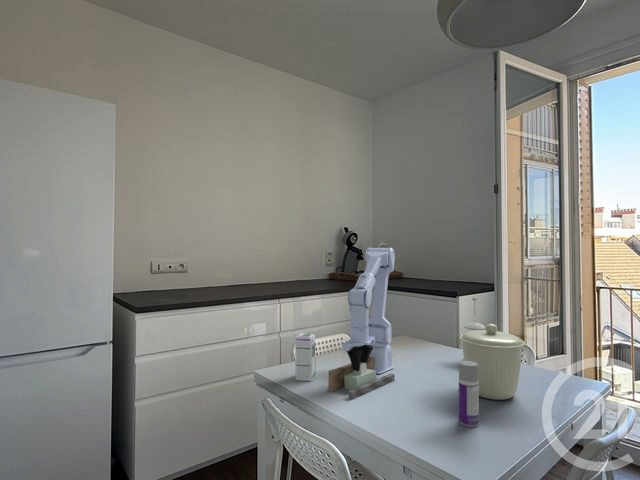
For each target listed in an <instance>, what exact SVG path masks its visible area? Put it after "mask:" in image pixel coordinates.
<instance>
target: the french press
mask: <svg viewBox="0 0 640 480" xmlns="http://www.w3.org/2000/svg"><path fill="white" fill-rule="evenodd" d="M471 300H472V301H474V302H473V303H474V304H473V305H474V307H473V309H474V316H476V301H478V298H477V297H475V296H474V297H472V299H471ZM485 326H486V325H484V324H482V323H480V322H476V321H473V322H466V323H465V324H464V325H463V328H465V329H467V330H471V331H474V330H485ZM461 361H464V358H462V359H461Z"/></svg>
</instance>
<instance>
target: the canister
mask: <svg viewBox="0 0 640 480" xmlns="http://www.w3.org/2000/svg"><path fill="white" fill-rule="evenodd" d="M484 326H485V329H483V330H469V331H466V332H464V333H463V334H461V335H460V336H459V340H461V343H462V344H461V345H462V346H461V347H462V354H463V355H462V356H463V359H464V361H472V362H476V363H477V364H478V381H479V397H481V398H485V399H489V400H496V401H497V400H499V401H500V400H501V401H502V400H508V399H512V398H513V397H514V396H515V395H516V393H517V392H518V391H517V389H518V385H519V381H520V380H519V378H520V371H521V364H522V355H523V347H525V345H526V342H525V341H524V340H522V339H521V338H520V337H518V336H516V335H515V334H512V333H508V332H503V331H499V330H498V326H497V325H496V324H494V323H487V324H486V325H484Z"/></svg>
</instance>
